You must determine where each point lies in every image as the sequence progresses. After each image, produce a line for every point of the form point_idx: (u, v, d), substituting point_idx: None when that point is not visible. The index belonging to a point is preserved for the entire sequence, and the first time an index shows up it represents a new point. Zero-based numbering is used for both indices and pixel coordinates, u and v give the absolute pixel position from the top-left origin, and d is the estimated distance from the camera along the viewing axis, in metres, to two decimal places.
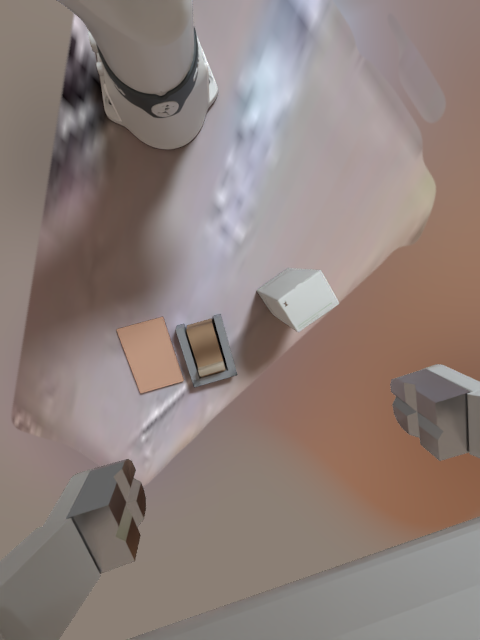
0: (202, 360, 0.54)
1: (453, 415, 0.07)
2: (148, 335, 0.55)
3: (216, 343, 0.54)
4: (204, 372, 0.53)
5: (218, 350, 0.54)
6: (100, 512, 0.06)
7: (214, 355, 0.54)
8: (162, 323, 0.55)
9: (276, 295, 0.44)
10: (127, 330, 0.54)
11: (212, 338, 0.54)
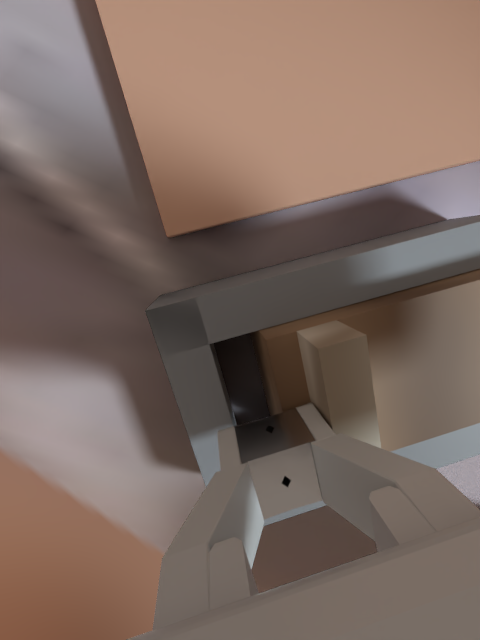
0: (380, 347, 0.08)
1: (299, 464, 0.07)
2: (455, 47, 0.10)
3: (461, 421, 0.09)
4: (348, 381, 0.07)
5: (422, 434, 0.09)
6: (272, 458, 0.07)
7: (397, 415, 0.09)
8: None
9: None
10: None
11: None
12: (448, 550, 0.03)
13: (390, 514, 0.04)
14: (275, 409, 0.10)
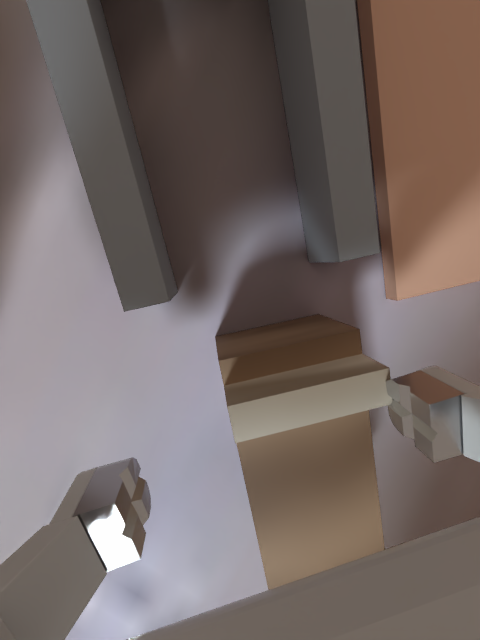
0: (338, 422, 0.10)
1: (447, 417, 0.07)
2: (470, 222, 0.12)
3: (257, 506, 0.10)
4: (358, 393, 0.08)
5: (250, 472, 0.10)
6: (107, 511, 0.06)
7: (274, 446, 0.10)
8: (402, 273, 0.12)
9: None
10: None
11: (275, 526, 0.11)
12: (448, 550, 0.03)
13: None
14: (259, 338, 0.11)
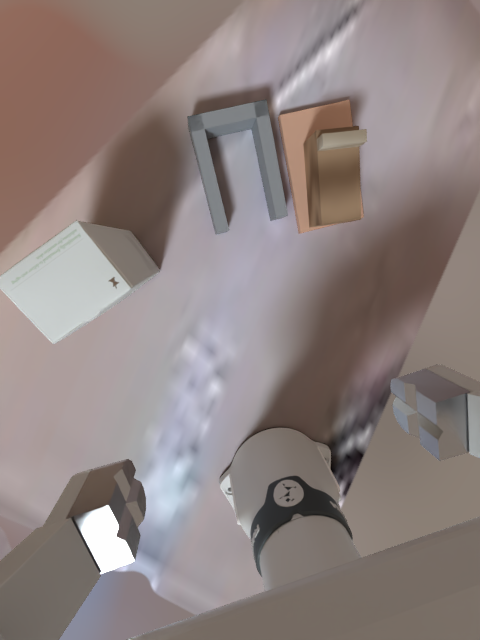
0: (349, 159, 0.32)
1: (453, 415, 0.07)
2: None
3: (321, 187, 0.32)
4: (357, 136, 0.30)
5: (321, 173, 0.32)
6: (100, 513, 0.06)
7: (329, 164, 0.32)
8: (302, 223, 0.37)
9: (132, 289, 0.24)
10: None
11: (326, 196, 0.33)
12: (448, 550, 0.03)
13: None
14: None
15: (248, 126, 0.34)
